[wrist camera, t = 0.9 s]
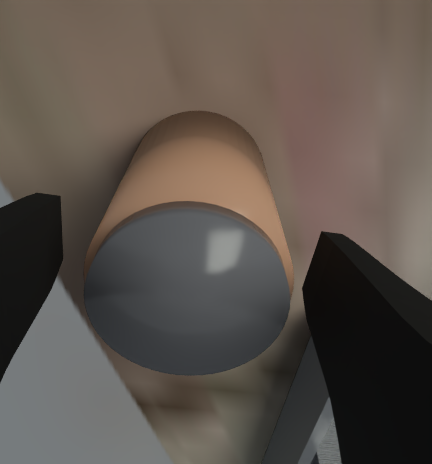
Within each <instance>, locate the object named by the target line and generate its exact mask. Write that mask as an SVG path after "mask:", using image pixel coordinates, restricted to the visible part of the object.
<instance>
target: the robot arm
mask: <svg viewBox="0 0 432 464" xmlns="http://www.w3.org/2000/svg"><path fill="white" fill-rule="evenodd" d="M62 261H63V244H62V221H61V199H60V196H57V195H49V194H42V193H35V194H32V195H29V196H26V197H24V198H22V199H19V200H17V201H15V202H12V203H10V204H8V205H6V206H4V207H1V208H0V382H1V380H2V378H3V375H4V373H5V371H6V369H7V367H8V365H9V363H10V361H11V359H12V357H13V355H14V354H15V352H16V350H17V349H18V347H19V345H20V343H21V342H22V340H23V338H24V336H25V335H26V333H27V331H28V329H29V328H30V326H31V324H32V323H33V321H34V319H35V317H36V316H37V314H38V312H39V310H40V309H41V307H42V305H43V303H44V301H45V300H46V298H47V296H48V294H49V293H50V291H51V289H52V286H53V284H54V282H55V279H56V277H57V274H58V271H59V269H60V266H61V263H62ZM302 291H303V299H304V306H305V313H306V319H307V322H308V326H309V329H310V333H311V336H312V340H313V343H314V346H315V349H316V353H317V356H318V359H319V363H320V366H321V369H322V373H323V376H324V379H325V382H326V386H327V389H328V393H329V397H330V401H331V406H332V411H333V417H334V422H335V427H336V433H337V438H338V444H339V451H340V457H341V463H342V464H432V301H431V300H430V299H428V298H427V297H425V296H424V295H423V294H421V293H420V292H418V291H417V290H416V289H414V288H413V287H411V286H410V285H409V284H407V283H406V282H405V281H403V280H402V279H401V278H399V277H398V276H397V275H395V274H394V273H393V272H392V271H390V270H389V269H388V268H386V267H385V266H384V265H383V264H381V263H380V262H379V261H378V260H376V259H375V258H374V257H373V256H371V255H370V254H369V253H368V252H366V251H365V250H364V249H363V248H361V247H360V246H359V245H357V244H356V243H355V242H353V241H352V240H351V239H349V238H348V237H346V236H345V235H343V234H337V233H330V232H323V231H322V232H321V234H320V237H319V240H318V243H317V246H316V249H315V252H314V255H313V258H312V261H311V264H310V267H309V270H308V272H307V275H306V278H305V281H304V284H303V287H302Z"/></svg>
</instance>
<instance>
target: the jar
mask: <svg viewBox="0 0 432 464" xmlns="http://www.w3.org/2000/svg"><path fill="white" fill-rule="evenodd" d="M84 284H85V286H84V301H85V307H86V311H87V314H88V317H89V319H90V321H91V323H92V325H93V327H94V328H95V330H96V332H97V333H98V334H99V336H100V337H101V338H102V339H103V340H104V342H105V343H107V344H108V345H109V346H110V347H111V348H112V349H113V350H114V351H116V352H117V353H119V354H120V355H121V356H123V357H125V358H126V359H128V360H130V361H131V362H134V363H136V364H138V365H140V366H142V367H145V368H148V369H151V370H155V371H159V372H163V373H168V374H175V375H206V374H213V373H218V372H223V371H226V370H229V369H232V368H235V367H238V366H240V365H242V364H245V363H246V362H248V361H250V360H252V359H254V358H255V357H257V356H258V355H259V354H261V353H262V352H263V351H265V350H266V349H267V348H268V347H269V346H270V345H271V344H272V343H273V342H274V340H275V339H276V338H277V337H278V335H279V334H280V332H281V330H282V329H283V327H284V325H285V322H286V320H287V317H288V313H289V309H290V300H291V296H292V292H293V285H294V272H293V265H292V261H291V257H290V254H289V250H288V247H287V243H286V240H285V236H284V232H283V229H282V225H281V222H280V218H279V215H278V211H277V208H276V204H275V201H274V197H273V194H272V190H271V187H270V183H269V180H268V176H267V172H266V169H265V165H264V162H263V158H262V155H261V152H260V150H259V148H258V146H257V144H256V142H255V141H254V139H253V138H252V137H251V135H250V134H249V133H248V132H247V131H246V130H245V129H244V128H243V127H242V126H240V125H239V124H238V123H236V122H235V121H233V120H231V119H229V118H227V117H225V116H222V115H220V114H217V113H212V112H207V111H188V112H182V113H178V114H175V115H172V116H170V117H168V118H165V119H163V120H162V121H160V122H159V123H157V124H156V125H155V126H154V127H152V128H151V129H150V130H149V131H148V132H147V134H146V135H145V136H144V137H143V139H142V140H141V142H140V144H139V146H138V148H137V150H136V152H135V154H134V156H133V158H132V160H131V162H130V164H129V166H128V168H127V170H126V172H125V174H124V176H123V178H122V180H121V182H120V184H119V186H118V188H117V190H116V193H115V195H114V197H113V199H112V201H111V203H110V205H109V207H108V209H107V211H106V213H105V215H104V217H103V219H102V221H101V223H100V225H99V227H98V229H97V231H96V233H95V235H94V237H93V239H92V242H91V244H90V246H89V248H88V251H87V254H86V258H85V262H84Z"/></svg>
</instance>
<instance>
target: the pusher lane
mask: <svg viewBox="0 0 432 464" xmlns="http://www.w3.org/2000/svg"><path fill="white" fill-rule="evenodd" d="M332 419H333V411H332V406H331V401H330V397H329V393H328V389H327V386H326V382H325V379H324V376H323V373H322V369H321V366H320V363H319V359H318V356H317V353H316V349H315V346H314V343H313V340H312V336H311V337H310V339H309V342H308V344H307V347H306V350H305V352H304V355H303V357H302V360H301V363H300V365H299V368H298V370H297V373H296V375H295V378H294V381H293V383H292V386H291V388H290V391H289V394H288V396H287V399H286V401H285V404H284V406H283V409H282V412H281V414H280V417H279V419H278V422H277V425H276V427H275V430H274V432H273V435H272V437H271V440H270V443H269V445H268V448H267V450H266V453H265V456H264V458H263V461H262V463H261V464H311V462H312V460H313V458H314V456H315V454H316V452H317V450H318V448H319V446H320V444H321V442H322V439H323V437H324V435H325V433H326V431H327V429H328V427H329V425H330V423H331V421H332Z"/></svg>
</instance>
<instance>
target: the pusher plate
mask: <svg viewBox="0 0 432 464" xmlns="http://www.w3.org/2000/svg"><path fill="white" fill-rule="evenodd" d="M311 464H342V463H341V457H340V451H339V444H338V438H337V433H336V427H335V422H334V417H333V419H332V421H331V423H330V425H329V427H328V429H327V431H326V433H325V435H324V437H323V439H322V442H321V444H320V446H319V448H318V450H317V452H316V454H315V456H314V458H313V460H312V462H311Z"/></svg>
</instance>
